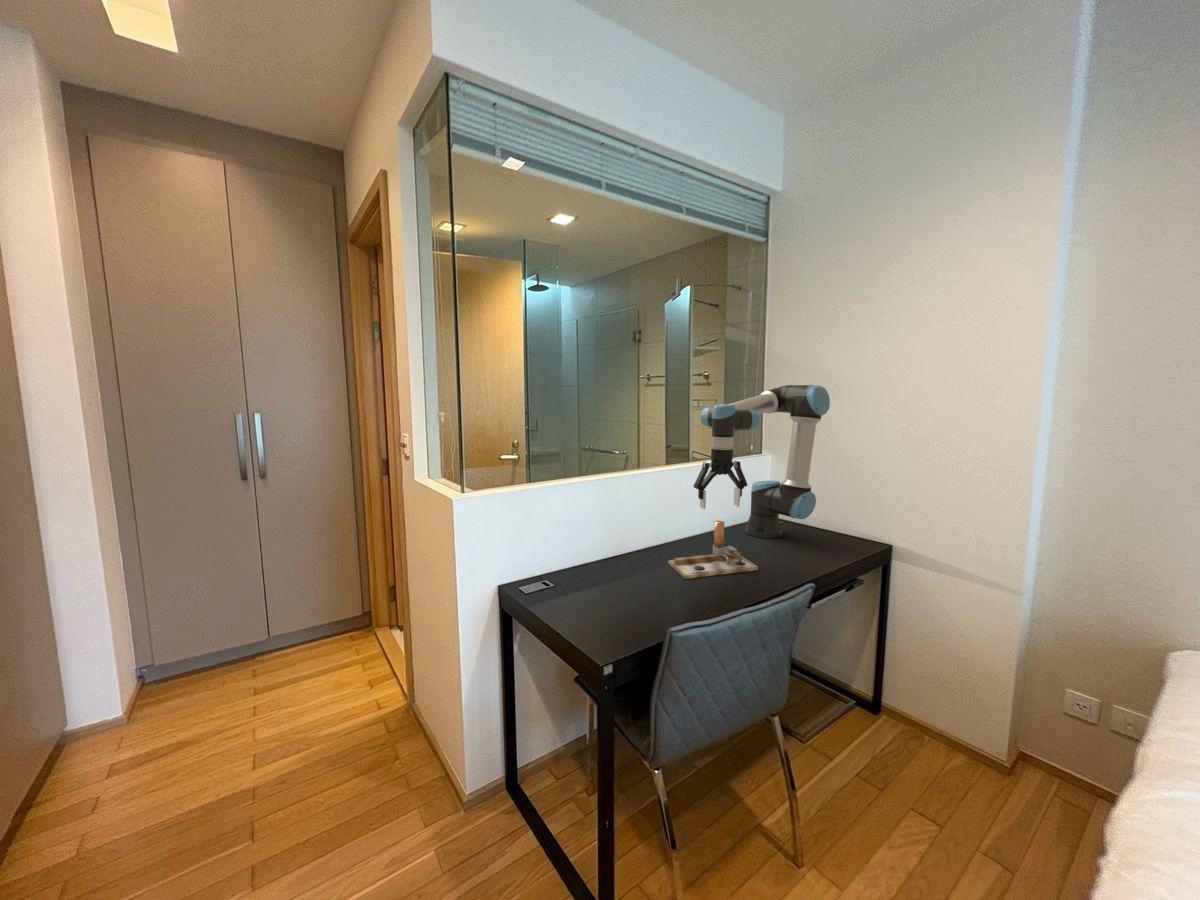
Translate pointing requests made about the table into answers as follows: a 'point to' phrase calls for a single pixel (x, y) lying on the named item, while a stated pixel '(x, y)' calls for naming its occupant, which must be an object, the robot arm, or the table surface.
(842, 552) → the table surface
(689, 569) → the holed mounting plate
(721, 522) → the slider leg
